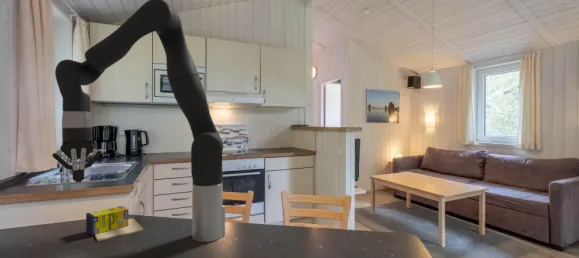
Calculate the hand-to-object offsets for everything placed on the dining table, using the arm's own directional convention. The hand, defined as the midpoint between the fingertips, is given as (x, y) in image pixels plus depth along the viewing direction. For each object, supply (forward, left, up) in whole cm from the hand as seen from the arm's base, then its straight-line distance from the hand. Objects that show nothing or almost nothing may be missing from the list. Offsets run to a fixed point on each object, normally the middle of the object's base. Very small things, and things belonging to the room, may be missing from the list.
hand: (78, 181), depth 89 cm
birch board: (-10, 0, -18) cm, 20 cm away
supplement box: (-2, 0, -14) cm, 14 cm away
